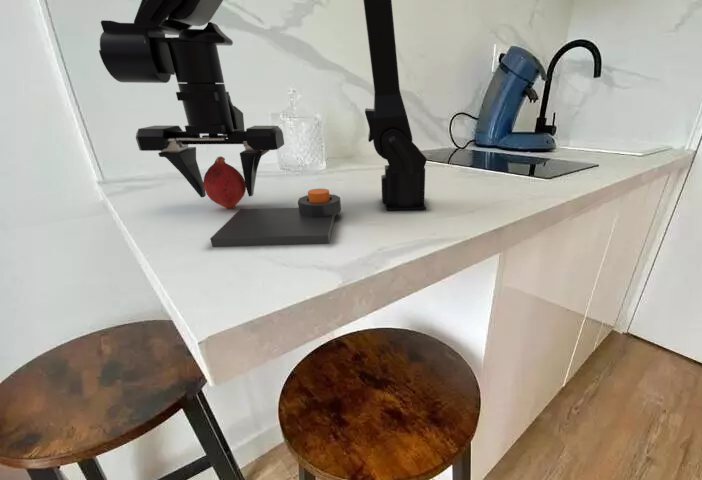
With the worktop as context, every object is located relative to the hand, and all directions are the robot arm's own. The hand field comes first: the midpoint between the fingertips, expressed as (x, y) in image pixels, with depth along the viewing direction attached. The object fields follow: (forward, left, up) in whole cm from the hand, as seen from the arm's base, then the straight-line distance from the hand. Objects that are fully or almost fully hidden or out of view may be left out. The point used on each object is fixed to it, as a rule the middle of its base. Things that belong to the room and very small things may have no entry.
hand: (227, 196), depth 57 cm
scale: (-10, +10, -2) cm, 14 cm away
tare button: (-15, +6, +1) cm, 16 cm away
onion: (0, 0, -2) cm, 2 cm away
